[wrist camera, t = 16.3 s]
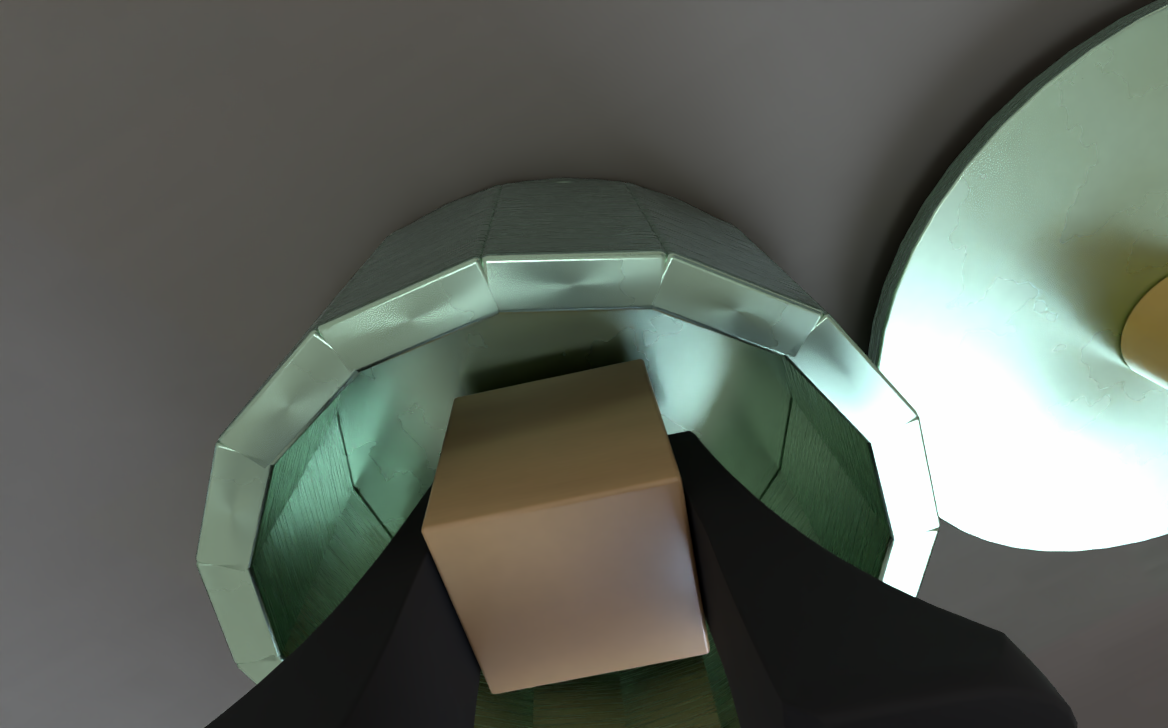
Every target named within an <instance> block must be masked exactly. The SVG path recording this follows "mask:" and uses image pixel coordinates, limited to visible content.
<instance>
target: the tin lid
mask: <svg viewBox="0 0 1168 728" xmlns="http://www.w3.org/2000/svg"><path fill="white" fill-rule="evenodd" d="M867 357H868V358H869V359H870V360H871V361H872V362H873V363H874V364H875V365H876V367H877V368H878V369H879V370H880V371H881V372H882V373H883V374H884V375H885V377H886V378H887V379H888V380H889V381H890V382H891V383H892V384H893V385H894V387H895V388H896V389H897V390H898V391H899V392H900V393H901V394H902V395H903V397H904V398H905V399H906V400H907V401H908V402H909V403H910V404H911V405H912V407H913V408H914V409H915V410H916V411H917V414H918V416H919V417H920V422H921V427H922V433H923V438H924V443H925V448H926V453H927V458H928V463H929V468H930V473H931V478H932V483H933V488H934V494H935V499H936V504H937V509H938V514H939V518H940V519H942V520H943V521H945V522H947V523H949V524H950V525H952V526H954V527H955V528H957V529H959V530H960V531H962V532H965V533H967V534H970V535H973V536H975V537H978V538H980V539H983V540H985V541H988V542H992V543H996V544H1000V545H1004V546H1008V547H1012V548H1018V549H1027V550H1036V551H1084V550H1094V549H1105V548H1111V547H1116V546H1121V545H1127V544H1132V543H1137V542H1141V541H1145V540H1149V539H1152V538H1156V537H1159V536H1163V535H1166V534H1168V0H1156V1H1154V2H1152V3H1150V4H1148V5H1146V6H1144V7H1142V8H1140V9H1138V10H1136V11H1134V12H1132V13H1130V14H1128V15H1126V16H1124V17H1122V18H1120V19H1119V20H1117V21H1116V22H1114V23H1112V24H1111V25H1109V26H1108V27H1106V28H1105V29H1103V30H1101V31H1100V32H1098V33H1097V34H1095V35H1094V36H1092V37H1090V38H1089V39H1087V40H1086V41H1084V42H1083V43H1081V44H1079V45H1078V46H1076V47H1075V48H1073V49H1071V50H1070V51H1069V52H1068V53H1066V54H1065V55H1064V56H1062V57H1061V58H1060V59H1059V60H1057V61H1056V62H1055V63H1054V64H1052V65H1051V66H1050V67H1048V68H1047V69H1046V70H1045V71H1043V72H1042V73H1041V74H1040V75H1038V76H1037V77H1036V78H1034V79H1033V80H1032V81H1031V82H1029V83H1028V84H1027V85H1026V86H1025V87H1024V88H1023V89H1021V90H1020V91H1019V92H1018V93H1017V94H1016V95H1015V96H1014V97H1013V98H1012V99H1011V100H1010V101H1009V102H1008V103H1007V104H1006V105H1005V106H1004V107H1003V108H1002V109H1000V110H999V111H998V112H997V113H996V114H995V115H994V116H993V117H992V118H991V119H990V120H989V121H988V122H987V123H986V124H985V125H984V126H983V127H982V129H981V130H980V131H979V132H978V133H977V134H976V136H975V137H974V138H973V139H972V140H971V141H970V142H969V144H968V145H967V146H966V147H965V148H964V149H963V151H962V152H961V153H960V154H959V155H958V156H957V157H956V159H955V160H954V161H953V162H952V163H951V165H950V166H949V168H948V169H947V170H946V172H945V173H944V175H943V176H942V178H941V179H940V180H939V182H938V183H937V185H936V186H935V187H934V189H933V190H932V192H931V193H930V194H929V196H928V197H927V199H926V200H925V202H924V203H923V205H922V206H921V208H920V210H919V212H918V214H917V215H916V217H915V219H914V221H913V222H912V224H911V226H910V228H909V230H908V231H907V233H906V235H905V237H904V239H903V240H902V242H901V244H900V246H899V249H898V251H897V253H896V256H895V258H894V260H893V263H892V265H891V267H890V270H889V272H888V274H887V277H886V279H885V282H884V284H883V288H882V291H881V295H880V298H879V301H878V305H877V308H876V312H875V315H874V319H873V323H872V330H871V336H870V343H869V350H868V356H867Z"/></svg>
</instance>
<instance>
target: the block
mask: <svg viewBox="0 0 1168 728" xmlns="http://www.w3.org/2000/svg"><path fill="white" fill-rule="evenodd" d="M421 532H422V534H423V537H424V539H425V541H426V543H427V546H428V548H429V550H430V553H431V555H432V557H433V560H434V562H435V564H436V566H437V569H438V571H439V573H440V576H441V578H442V580H443V583H444V585H445V587H446V590H447V592H448V594H449V596H450V599H451V601H452V603H453V606H454V608H455V610H456V613H457V615H458V617H459V619H460V622H461V624H462V626H463V629H464V631H465V633H466V636H467V638H468V640H469V643H470V645H471V647H472V649H473V652H474V654H475V656H476V659H477V661H478V663H479V666H480V668H481V670H482V672H483V675H484V677H485V679H486V682H487V684H488V686H489V689H490V691H491V693H492V694H500V693H505V692H510V691H515V690H521V689H526V688H531V687H536V686H542V685H547V684H552V683H557V682H563V681H568V680H573V679H578V678H584V677H589V676H594V675H600V674H605V673H610V672H615V671H621V670H626V669H631V668H636V667H642V666H647V665H652V664H657V663H663V662H668V661H673V660H678V659H684V658H689V657H694V656H699V655H705V654H708V653H709V651H710V645H709V639H708V633H707V627H706V621H705V615H704V609H703V603H702V597H701V591H700V585H699V579H698V573H697V567H696V561H695V555H694V549H693V543H692V537H691V531H690V525H689V519H688V513H687V508H686V502H685V496H684V490H683V484H682V478H681V475H680V472H679V469H678V466H677V463H676V459H675V456H674V453H673V450H672V447H671V444H670V441H669V438H668V434H667V431H666V428H665V425H664V422H663V419H662V416H661V413H660V409H659V406H658V403H657V400H656V397H655V394H654V391H653V387H652V384H651V381H650V378H649V375H648V372H647V369H646V366H645V362H644V361H643V360H642V359H637V360H632V361H627V362H623V363H618V364H613V365H608V366H604V367H599V368H594V369H590V370H585V371H580V372H575V373H571V374H566V375H561V376H556V377H552V378H547V379H542V380H537V381H533V382H528V383H523V384H518V385H514V386H509V387H504V388H500V389H495V390H490V391H485V392H481V393H476V394H471V395H466V396H462V397H457V398H455V399H454V402H453V406H452V410H451V414H450V418H449V421H448V425H447V429H446V433H445V437H444V441H443V445H442V449H441V453H440V457H439V461H438V465H437V469H436V473H435V477H434V481H433V485H432V489H431V493H430V497H429V501H428V505H427V509H426V513H425V517H424V521H423V525H422V530H421Z"/></svg>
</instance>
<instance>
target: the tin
mask: <svg viewBox="0 0 1168 728" xmlns="http://www.w3.org/2000/svg"><path fill="white" fill-rule="evenodd" d="M637 359H642V360H643V361H644V362H645V366H646V369H647V372H648V375H649V378H650V381H651V384H652V387H653V391H654V394H655V397H656V400H657V403H658V406H659V409H660V413H661V416H662V419H663V422H664V425H665V428H666V431H667V434H668V435H670V434H675V433H680V432H685V431H691V432H692V433H694V434H696V436H697V437H698V438H699V440H700V441H701V442H702V443H703V445H704V446H705V447H706V448H707V449H708V450H709V451H710V453H711V454H712V455H713V456H714V457H715V458H716V459H717V460H718V461H719V462H720V463H721V464H722V465H723V466H724V467H725V468H726V469H727V470H728V471H729V472H730V473H731V474H732V475H733V476H734V477H735V478H736V479H737V480H738V481H739V482H740V483H741V484H742V485H743V486H745V487H746V488H747V489H748V490H749V491H750V492H751V493H752V494H753V495H754V496H756V497H757V498H758V499H759V500H760V501H761V502H763V503H764V504H765V505H766V506H767V507H769V508H770V509H771V510H772V511H774V512H775V513H776V514H777V515H779V516H780V517H781V518H782V519H784V520H785V521H786V522H788V523H789V524H790V525H792V526H793V527H794V528H796V529H797V530H798V531H800V532H801V533H803V534H804V535H806V536H807V537H809V538H810V539H812V540H813V541H814V542H816V543H817V544H819V545H820V546H822V547H823V548H825V549H827V550H828V551H830V552H831V553H833V554H835V555H836V556H838V557H839V558H841V559H843V560H844V561H846V562H848V563H850V564H852V565H853V566H855V567H857V568H859V569H861V570H863V571H864V572H866V573H868V574H870V575H872V576H874V577H875V578H877V579H879V580H881V581H883V582H885V583H887V584H889V585H891V586H892V587H895V588H897V589H899V590H901V591H903V592H905V593H908V594H910V595H912V596H914V597H916V598H917V596H918V593H919V590H920V587H921V584H922V581H923V578H924V575H925V572H926V569H927V566H928V563H929V560H930V557H931V554H932V551H933V548H934V545H935V542H936V539H937V535H938V532H939V527H940V525H941V524H940V519H939V514H938V509H937V504H936V499H935V494H934V488H933V483H932V478H931V473H930V468H929V463H928V458H927V453H926V448H925V443H924V438H923V433H922V427H921V422H920V417H919V416H918V414H917V411H916V410H915V409H914V408H913V407H912V405H911V404H910V403H909V402H908V401H907V400H906V399H905V398H904V397H903V395H902V394H901V393H900V392H899V391H898V390H897V389H896V388H895V387H894V385H893V384H892V383H891V382H890V381H889V380H888V379H887V378H886V377H885V375H884V374H883V373H882V372H881V371H880V370H879V369H878V368H877V367H876V365H875V364H874V363H873V362H872V361H871V360H870V359H869V358H868V357H867V355H866V354H865V353H864V352H863V351H862V350H861V349H860V348H859V347H858V345H857V344H856V343H855V342H854V341H853V340H852V339H851V338H850V337H849V335H848V334H847V333H846V332H845V331H844V330H843V329H842V328H841V326H840V325H839V324H838V323H837V322H836V321H835V320H834V319H833V318H832V316H831V315H830V314H829V313H828V312H827V311H825V310H824V309H823V308H822V307H821V306H820V305H819V304H818V303H817V302H816V301H815V300H814V299H813V298H812V297H811V296H809V295H808V294H807V293H806V292H805V291H804V290H803V289H802V288H801V287H800V286H799V285H798V284H797V283H796V282H795V281H793V280H792V279H791V278H790V277H789V276H788V275H787V274H786V273H785V272H784V271H783V270H782V269H781V268H780V267H778V266H777V265H776V264H775V263H774V262H773V261H772V260H771V259H770V258H769V257H768V256H767V255H766V254H765V253H764V252H762V251H761V250H760V249H759V248H758V247H757V246H756V245H755V244H754V243H753V242H752V241H751V240H750V239H749V238H747V237H746V236H745V235H744V234H743V233H742V232H741V231H740V230H739V229H738V228H737V227H734V226H733V225H732V224H730V223H727V222H725V221H722V220H720V219H717V218H715V217H713V216H711V215H709V214H707V213H705V212H703V211H701V210H699V209H697V208H695V207H693V206H691V205H689V204H687V203H685V202H683V201H681V200H679V199H677V198H674V197H671V196H668V195H665V194H662V193H659V192H656V191H653V190H650V189H647V188H644V187H640V186H637V185H635V184H632V183H626V184H625V183H624V182H622V181H608V180H601V179H580V178H554V179H542V180H530V181H522V182H517V183H506V184H504V185H502V186H501V185H496V186H494V187H491V188H489V189H486V190H483V191H480V192H477V193H475V194H472V195H469V196H467V197H464V198H461V199H459V200H456V201H453V202H450V203H448V204H446V205H444V206H442V207H440V208H439V209H437V210H435V211H433V212H431V213H429V214H427V215H426V216H424V217H422V218H420V219H418V220H416V221H415V222H413V223H412V224H410V225H408V226H405V227H403V228H401V229H399V230H397V231H394V232H393V233H392V234H391V235H389V236H387V237H386V239H385V240H384V241H383V242H382V243H381V244H380V246H379V247H378V248H377V249H376V250H375V251H374V253H373V254H372V255H371V256H370V257H369V258H368V260H367V261H366V262H365V263H364V264H363V265H362V267H361V268H360V269H359V270H358V271H357V272H356V274H355V275H354V276H353V277H352V278H351V280H350V281H349V282H348V283H347V284H346V285H345V287H344V288H343V289H342V290H341V291H340V292H339V294H338V295H337V296H336V297H335V298H334V299H333V301H332V302H331V303H330V304H329V305H328V306H327V308H326V309H325V310H324V311H323V312H322V313H321V315H320V316H319V317H318V318H317V319H316V321H315V322H314V323H313V324H312V325H311V327H310V328H309V329H308V330H307V331H306V333H305V334H304V335H303V336H302V337H301V339H300V340H299V341H298V342H297V343H296V345H295V346H294V347H293V348H292V349H291V351H290V352H289V353H288V354H287V356H286V357H285V358H284V359H283V360H282V362H281V363H280V364H279V365H278V366H277V368H276V369H275V370H274V371H273V372H272V374H271V375H270V376H269V377H268V378H267V380H266V381H265V382H264V383H263V384H262V386H261V387H260V388H259V389H258V390H257V392H256V393H255V394H254V395H253V396H252V398H251V399H250V400H249V401H248V402H247V404H246V405H245V406H244V407H243V408H242V410H241V411H240V412H239V413H238V415H237V416H236V417H235V418H234V419H233V421H232V422H231V423H230V424H229V425H228V427H227V428H226V429H225V430H224V431H223V433H222V434H221V435H220V437H219V440H218V441H217V443H216V444H215V450H214V456H213V461H212V467H211V473H210V479H209V484H208V490H207V496H206V501H205V507H204V513H203V519H202V524H201V530H200V536H199V541H198V547H197V553H196V561H197V568H198V571H199V573H200V576H201V578H202V581H203V583H204V586H205V588H206V591H207V594H208V596H209V599H210V601H211V604H212V606H213V609H214V611H215V614H216V616H217V619H218V622H219V624H220V627H221V629H222V632H223V634H224V637H225V639H226V642H227V645H228V647H229V650H230V652H231V655H232V657H233V660H234V662H235V663H237V667H238V668H239V669H240V670H241V671H242V672H243V673H244V674H245V675H247V676H248V677H249V678H250V679H251V680H252V681H253V682H254V683H255V684H256V685H257V684H258V683H259V682H260V681H262V680H263V679H264V678H265V677H266V676H267V675H268V674H269V673H270V672H271V671H272V670H274V669H275V668H276V667H277V666H278V665H279V664H280V663H281V662H282V661H283V660H285V659H286V658H287V657H288V656H289V655H290V654H291V653H292V652H293V651H294V650H295V649H297V648H298V647H299V646H300V645H301V644H302V643H303V642H304V641H305V640H306V639H307V638H308V637H309V636H310V635H311V634H312V633H313V632H314V630H315V629H316V628H317V627H318V626H319V625H320V624H321V623H322V622H323V621H324V620H325V619H326V618H327V617H328V616H329V615H330V614H331V613H332V612H333V611H334V609H335V608H336V607H337V606H338V605H339V604H340V603H341V602H342V601H343V599H344V598H345V597H346V596H347V595H348V594H349V592H350V591H351V590H352V589H353V587H354V586H355V585H356V584H357V583H358V581H359V580H360V579H361V578H362V577H363V575H364V574H365V573H366V572H367V570H368V569H369V568H370V567H371V566H372V564H373V563H374V562H375V561H376V559H377V558H378V557H379V556H380V554H381V553H382V552H383V550H384V549H385V548H386V546H387V545H388V544H389V542H390V541H391V540H392V538H393V537H394V536H395V534H396V533H397V532H398V530H399V529H400V527H401V526H402V525H403V523H404V522H405V521H406V519H407V518H408V516H409V515H410V514H411V512H412V511H413V509H414V508H415V507H416V505H417V504H418V502H419V501H420V500H421V498H422V497H423V495H424V494H425V493H426V491H427V490H428V489H429V487H430V486H431V485H432V483H433V481H434V477H435V473H436V469H437V465H438V461H439V457H440V453H441V449H442V445H443V441H444V437H445V433H446V429H447V425H448V421H449V418H450V414H451V410H452V406H453V402H454V399H455V398H457V397H462V396H466V395H471V394H476V393H481V392H485V391H490V390H495V389H500V388H504V387H509V386H514V385H518V384H523V383H528V382H533V381H537V380H542V379H547V378H552V377H556V376H561V375H566V374H571V373H575V372H580V371H585V370H590V369H594V368H599V367H604V366H608V365H613V364H618V363H623V362H627V361H632V360H637ZM705 621H706V619H705ZM706 627H707V633H708V639H709V645H710V651H709V653H708V654H705V655H699V656H694V657H689V658H684V659H678V660H673V661H668V662H663V663H657V664H652V665H647V666H642V667H636V668H631V669H626V670H621V671H615V672H610V673H605V674H600V675H594V676H589V677H584V678H578V679H573V680H568V681H563V682H557V683H552V684H547V685H542V686H536V687H531V688H526V689H521V690H515V691H510V692H505V693H500V694H492V693H491V691H490V689H489V686H488V684H487V682H486V679H485V677H484V675H483V672H482V670H481V673H480V681H479V688H478V695H477V703H476V711H475V722H474V728H741V727H740V723H739V719H738V716H737V712H736V708H735V705H734V701H733V697H732V694H731V690H730V686H729V683H728V680H727V677H726V674H725V671H724V668H723V665H722V662H721V659H720V656H719V654H718V651H717V648H716V646H715V643H714V640H713V638H712V635H711V632H710V630H709V627H708V624H707V622H706Z"/></svg>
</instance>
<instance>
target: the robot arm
mask: <svg viewBox="0 0 1168 728" xmlns="http://www.w3.org/2000/svg"><path fill="white" fill-rule="evenodd" d="M668 438H669V441H670V444H671V447H672V450H673V453H674V456H675V459H676V463H677V466H678V469H679V472H680V475H681V478H682V484H683V490H684V496H685V502H686V508H687V513H688V519H689V525H690V531H691V537H692V543H693V549H694V555H695V561H696V567H697V573H698V579H699V585H700V591H701V597H702V603H703V609H704V615H705V619H706V622H707V624H708V627H709V630H710V632H711V635H712V638H713V640H714V643H715V646H716V648H717V651H718V654H719V656H720V659H721V662H722V665H723V668H724V671H725V674H726V677H727V680H728V683H729V686H730V690H731V694H732V697H733V701H734V705H735V708H736V712H737V716H738V719H739V723H740V727H741V728H1077V721H1076V719H1075V717H1074V715H1073V712H1072V710H1071V708H1070V707H1069V705H1068V704H1067V703H1066V702H1065V700H1064V699H1063V698H1062V697H1061V695H1060V694H1059V693H1058V692H1057V690H1056V689H1055V688H1054V687H1053V685H1052V684H1051V683H1050V682H1049V680H1048V679H1047V678H1046V677H1045V676H1044V675H1043V674H1042V672H1041V671H1040V670H1039V669H1038V668H1037V667H1036V666H1035V665H1034V664H1033V663H1032V662H1031V661H1030V659H1029V658H1028V657H1027V656H1026V655H1025V654H1024V653H1023V652H1022V651H1021V650H1020V649H1019V648H1018V647H1017V646H1016V645H1015V644H1014V643H1013V642H1012V641H1011V640H1010V639H1009V638H1008V637H1007V636H1006V635H1005V634H1004V633H1002V632H1000V631H997V630H995V629H992V628H990V627H987V626H984V625H982V624H979V623H977V622H974V621H972V620H969V619H967V618H964V617H961V616H959V615H956V614H954V613H951V612H949V611H946V610H944V609H941V608H938V607H936V606H934V605H931V604H929V603H927V602H925V601H923V600H920V599H918V598H916V597H914V596H912V595H910V594H908V593H905V592H903V591H901V590H899V589H897V588H895V587H892V586H891V585H889V584H887V583H885V582H883V581H881V580H879V579H877V578H875V577H874V576H872V575H870V574H868V573H866V572H864V571H863V570H861V569H859V568H857V567H855V566H853V565H852V564H850V563H848V562H846V561H844V560H843V559H841V558H839V557H838V556H836V555H835V554H833V553H831V552H830V551H828V550H827V549H825V548H823V547H822V546H820V545H819V544H817V543H816V542H814V541H813V540H812V539H810V538H809V537H807V536H806V535H804V534H803V533H801V532H800V531H798V530H797V529H796V528H794V527H793V526H792V525H790V524H789V523H788V522H786V521H785V520H784V519H782V518H781V517H780V516H779V515H777V514H776V513H775V512H774V511H772V510H771V509H770V508H769V507H767V506H766V505H765V504H764V503H763V502H761V501H760V500H759V499H758V498H757V497H756V496H754V495H753V494H752V493H751V492H750V491H749V490H748V489H747V488H746V487H745V486H743V485H742V484H741V483H740V482H739V481H738V480H737V479H736V478H735V477H734V476H733V475H732V474H731V473H730V472H729V471H728V470H727V469H726V468H725V467H724V466H723V465H722V464H721V463H720V462H719V461H718V460H717V459H716V458H715V457H714V456H713V455H712V454H711V453H710V451H709V450H708V449H707V448H706V447H705V446H704V445H703V443H702V442H701V441H700V440H699V438H698V437H697V436H696V434H694V433H692V432H691V431H685V432H680V433H675V434H670V435H668ZM432 485H433V483H432ZM432 485H431V486H430V487H429V489H428V490H427V491H426V493H425V494H424V495H423V497H422V498H421V500H420V501H419V502H418V504H417V505H416V507H415V508H414V509H413V511H412V512H411V514H410V515H409V516H408V518H407V519H406V521H405V522H404V523H403V525H402V526H401V527H400V529H399V530H398V532H397V533H396V534H395V536H394V537H393V538H392V540H391V541H390V542H389V544H388V545H387V546H386V548H385V549H384V550H383V552H382V553H381V554H380V556H379V557H378V558H377V559H376V561H375V562H374V563H373V564H372V566H371V567H370V568H369V569H368V570H367V572H366V573H365V574H364V575H363V577H362V578H361V579H360V580H359V581H358V583H357V584H356V585H355V586H354V587H353V589H352V590H351V591H350V592H349V594H348V595H347V596H346V597H345V598H344V599H343V601H342V602H341V603H340V604H339V605H338V606H337V607H336V608H335V609H334V611H333V612H332V613H331V614H330V615H329V616H328V617H327V618H326V619H325V620H324V621H323V622H322V623H321V624H320V625H319V626H318V627H317V628H316V629H315V630H314V632H313V633H312V634H311V635H310V636H309V637H308V638H307V639H306V640H305V641H304V642H303V643H302V644H301V645H300V646H299V647H298V648H297V649H295V650H294V651H293V652H292V653H291V654H290V655H289V656H288V657H287V658H286V659H285V660H283V661H282V662H281V663H280V664H279V665H278V666H277V667H276V668H275V669H274V670H272V671H271V672H270V673H269V674H268V675H267V676H266V677H265V678H264V679H263V680H262V681H260V682H259V683H258V684H257V685H256V686H255V687H254V688H253V689H251V690H250V691H249V692H248V693H247V694H246V695H244V696H243V697H242V698H241V699H240V700H238V701H237V702H236V703H235V704H234V705H232V706H231V707H230V708H229V709H227V710H226V711H225V712H224V713H223V714H221V715H220V716H219V717H218V718H216V719H215V720H214V721H212V722H211V723H210V724H209V725H207V726H206V727H205V728H474V722H475V711H476V703H477V695H478V688H479V681H480V673H481V668H480V666H479V663H478V661H477V659H476V656H475V654H474V652H473V649H472V647H471V645H470V643H469V640H468V638H467V636H466V633H465V631H464V629H463V626H462V624H461V622H460V619H459V617H458V615H457V613H456V610H455V608H454V606H453V603H452V601H451V599H450V596H449V594H448V592H447V590H446V587H445V585H444V583H443V580H442V578H441V576H440V573H439V571H438V569H437V566H436V564H435V562H434V560H433V557H432V555H431V553H430V550H429V548H428V546H427V543H426V541H425V539H424V537H423V534H422V532H421V530H422V525H423V521H424V517H425V513H426V509H427V505H428V501H429V497H430V493H431V489H432Z"/></svg>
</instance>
